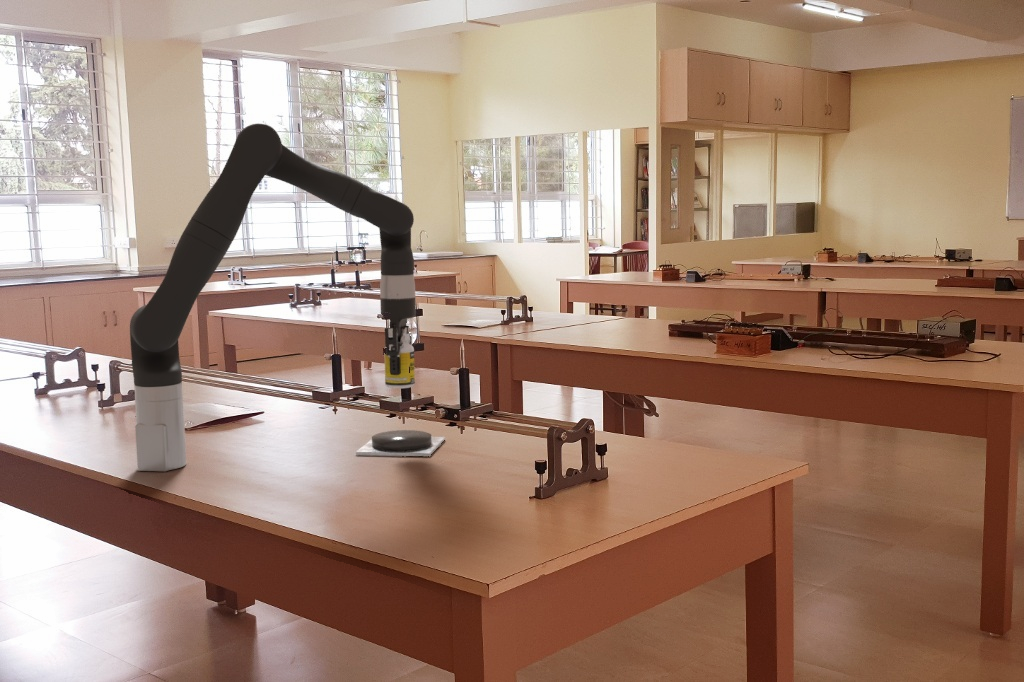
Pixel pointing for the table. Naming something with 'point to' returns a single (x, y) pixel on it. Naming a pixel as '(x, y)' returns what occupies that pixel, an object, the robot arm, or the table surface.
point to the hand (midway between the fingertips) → (399, 372)
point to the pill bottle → (402, 367)
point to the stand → (401, 444)
